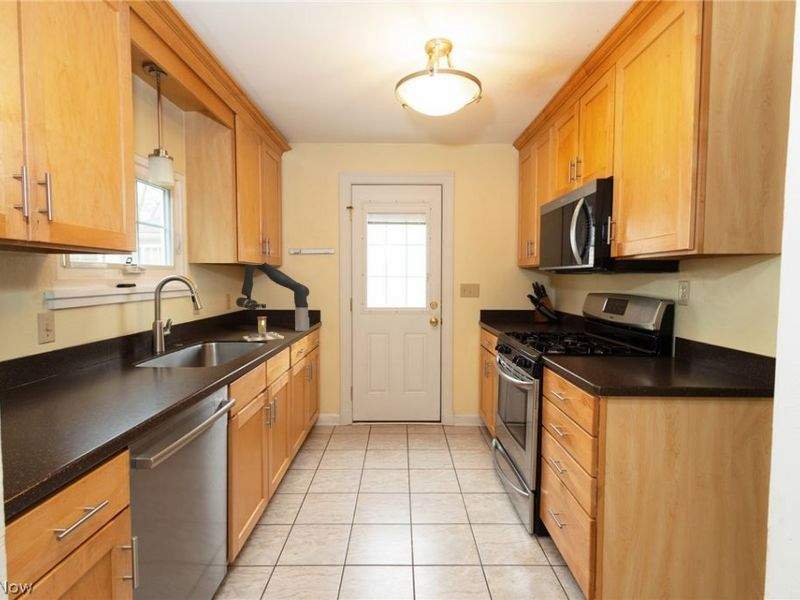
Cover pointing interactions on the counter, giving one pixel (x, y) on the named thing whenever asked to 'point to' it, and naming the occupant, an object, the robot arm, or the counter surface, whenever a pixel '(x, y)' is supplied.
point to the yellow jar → (261, 325)
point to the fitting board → (263, 336)
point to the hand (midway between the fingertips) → (258, 306)
